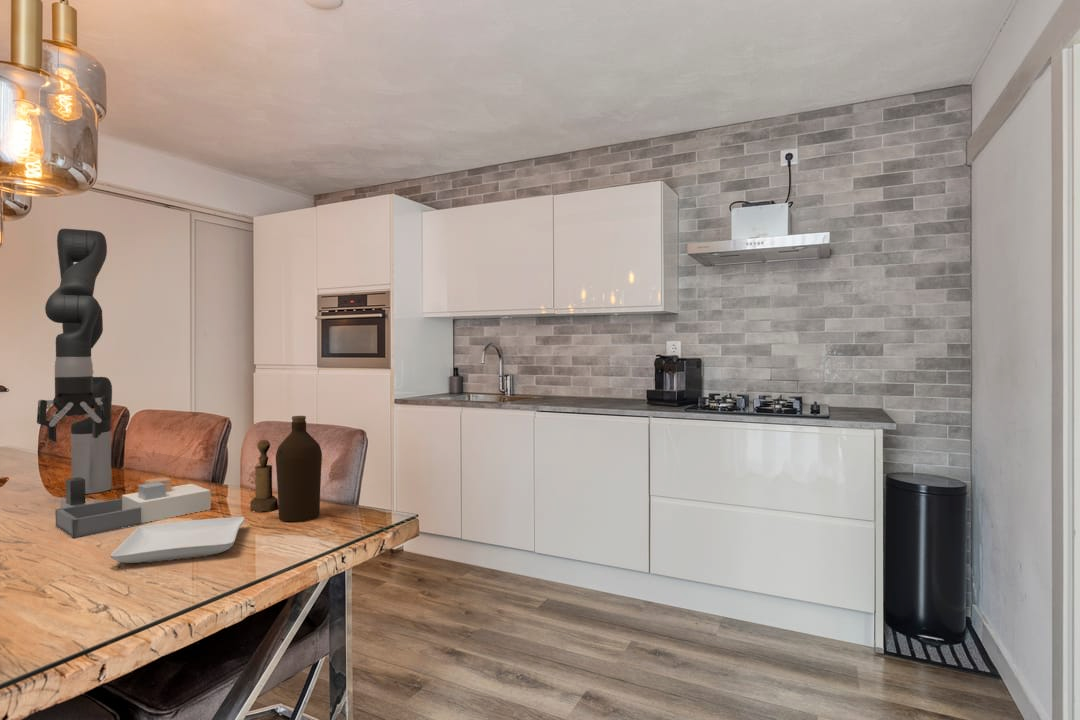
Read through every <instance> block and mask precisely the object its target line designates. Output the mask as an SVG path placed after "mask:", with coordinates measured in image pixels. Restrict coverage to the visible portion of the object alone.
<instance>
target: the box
mask: <svg viewBox="0 0 1080 720" xmlns="http://www.w3.org/2000/svg"><path fill="white" fill-rule="evenodd" d="M140 524H141V508H140V507H138V508H132V509H126V510H122V497H121V498H116V499H109V500H103V501H97V502H91V503H84V505H78V506H72V507H66V508H61V507H60V508H55V527H56V526H57V527H58V528H57V527H56V528H57V529H59V528H60V529H61V530H60V529H59V530H60V531H62V530H63V531H64V533H65V532H66V533H67V534H66V533H65V534H66V535H68V536H69V535H70V536H71V537H70V536H69V537H70V538H71V539H77V538H76V537H78V538H82V537H87V536H92V535H96V533H97V534H102V533H105V532H104V531H107V532H110V531H109V530H112V531H115V530H114V529H117V530H119V529H118V528H122V527H127V528H129V527H128V526H132V527H135V526H134V525H137V526H141V525H142V524H141V525H140ZM122 529H123V528H122ZM63 531H62V532H63ZM101 532H102V533H101ZM91 534H92V535H91ZM81 536H82V537H81Z"/></svg>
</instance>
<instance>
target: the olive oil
mask: <svg viewBox="0 0 1080 720" xmlns="http://www.w3.org/2000/svg"><path fill="white" fill-rule="evenodd" d="M291 420H292V421H291V432H290V433H289V435H287V437H285V439H283V441H282V442H281V443H279V446H278V447H277V450H276V453H275V467H276V470H275V471H276V483H277V484H276V485H277V488H276V489H277V499H278V508H277V510H278V520H279V521H281V520H283V521H282V522H284V521H301V522H306V521H305V520H308V521H310V520H309V519H312V520H314V519H313V518H315V519H316V517H317V518H318V517H319V516H320V515H321V514H320V513H321V508H320V507H321V484H322V483H321V481H322V465H323V464H322V463H323V453H322V452H323V451H322V448H321V446H320V444H319V442H318V441H317V440H316V439H315V438H314V437H312V436H311V435H310V433H308V431H307V421H306V420H307V416H306V415H294V416H292V417H291Z"/></svg>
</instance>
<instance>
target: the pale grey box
mask: <svg viewBox="0 0 1080 720" xmlns="http://www.w3.org/2000/svg"><path fill="white" fill-rule="evenodd" d="M137 488H138V491H137V493H138V497H139V498H141V499H143V500H150V499H155V498H161V497H166V485H165V484H163V483H160V482H156V483H149V484H145V483H144V484H138V486H137Z"/></svg>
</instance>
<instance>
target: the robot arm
mask: <svg viewBox="0 0 1080 720" xmlns="http://www.w3.org/2000/svg"><path fill="white" fill-rule="evenodd" d="M107 245H108V244H107V239H106V236H105V235H104V234H103V233H102V232H101V231H97V230H88V229H77V228H76V229H75V228H60V229H59V230H58V233H57V236H56V246H57V247H56V248H57V255H58V256H57V257H58V265H59V273H60V284H59V286H58V287H57V288H56V290H55V291H54V292H52V293H51V294H50V296H49V297H48V299H47V300H46V303H45V307H44V310H45V315H46V317H47V318H48V320H50V321H52V322H54V323H57V324H62V325H61V326H62V333H58V334H57V335H56V337H55V361H54V398H53V400H52V399H48V400H47V399H39V400H37V413H36V414H37V417H36V423H37V424H38V425H40V426H46V432H47V433H46V438H47V440H49V441H50V442H51V443H57V426H56V424H58V423H59V421H60V420H62V419H63V417H64V416H65V417H66V416H67V417H72V416H84V415H86V416H87V417H86V418H84V419H81V420H78V421H74V422H73V423H72V424H71V426H70V445H71V446H70V449H71V459H70V460H71V478H78V477H81V478H83V479H85V495H89V494H98V493H102V492H103V493H104V492H107V491H109V490H112V435H111V431H112V430H111V427H112V426H111V425H112V401H113V385H112V382H111V380H110V379H109V378H108V377H106V376H94V370H93V369H94V368H93V367H94V366H93V361H92V349H93V348H94V346H96V344H97V343H98V341H99V339H100V338H101V336H102V334H103V331H104V328H103V327H104V324H103V322H104V321H103V319H104V318H103V309H102V307H101V305H100V303H99V302H98V300H97V299H96V298H95V297H94V293H95V292H94V291H95V285H96V279H97V278H98V276H99V273H100V272H101V270H102V268H103V265H104V263H105V261H106V259H107V254H108V246H107ZM52 405H53V406H54V407H55V408H56V411H54V413H53V414H52V416H51V417H50V418H49V419H48V420H47V410H48V409H50V407H51V406H52ZM93 409H94V410H93Z"/></svg>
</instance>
